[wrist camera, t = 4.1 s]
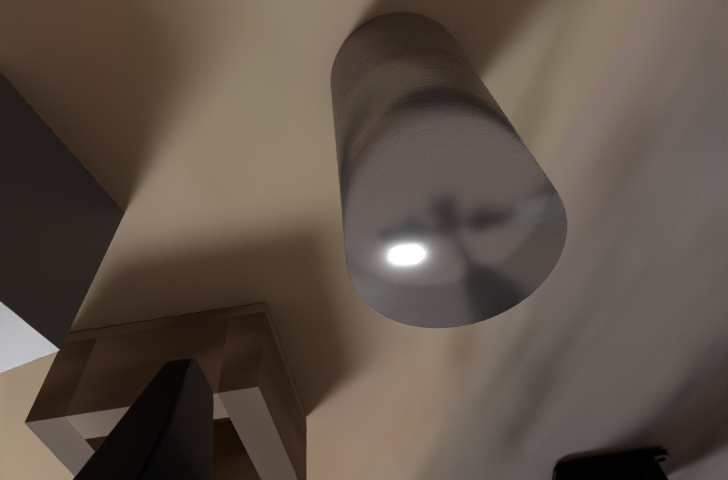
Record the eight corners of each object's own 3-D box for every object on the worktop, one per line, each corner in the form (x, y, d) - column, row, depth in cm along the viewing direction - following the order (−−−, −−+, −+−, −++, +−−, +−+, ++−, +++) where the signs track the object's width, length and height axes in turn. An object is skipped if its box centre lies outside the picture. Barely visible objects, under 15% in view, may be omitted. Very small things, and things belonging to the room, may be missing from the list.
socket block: (265, 302, 21) (258, 386, 18) (306, 417, 26) (306, 499, 23) (66, 333, 21) (24, 422, 18) (144, 442, 26) (122, 527, 23)
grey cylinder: (463, 1, 15) (579, 134, 8) (464, 132, 17) (556, 311, 11) (319, 25, 15) (327, 175, 8) (341, 151, 17) (362, 341, 11)
